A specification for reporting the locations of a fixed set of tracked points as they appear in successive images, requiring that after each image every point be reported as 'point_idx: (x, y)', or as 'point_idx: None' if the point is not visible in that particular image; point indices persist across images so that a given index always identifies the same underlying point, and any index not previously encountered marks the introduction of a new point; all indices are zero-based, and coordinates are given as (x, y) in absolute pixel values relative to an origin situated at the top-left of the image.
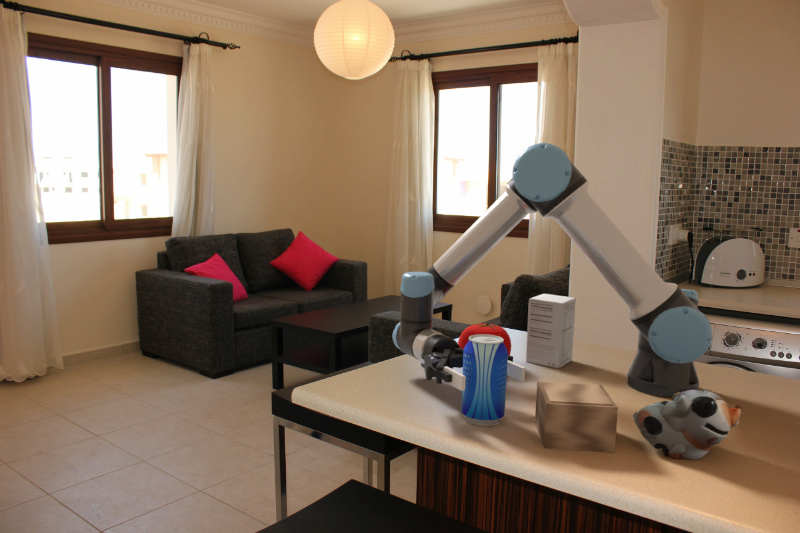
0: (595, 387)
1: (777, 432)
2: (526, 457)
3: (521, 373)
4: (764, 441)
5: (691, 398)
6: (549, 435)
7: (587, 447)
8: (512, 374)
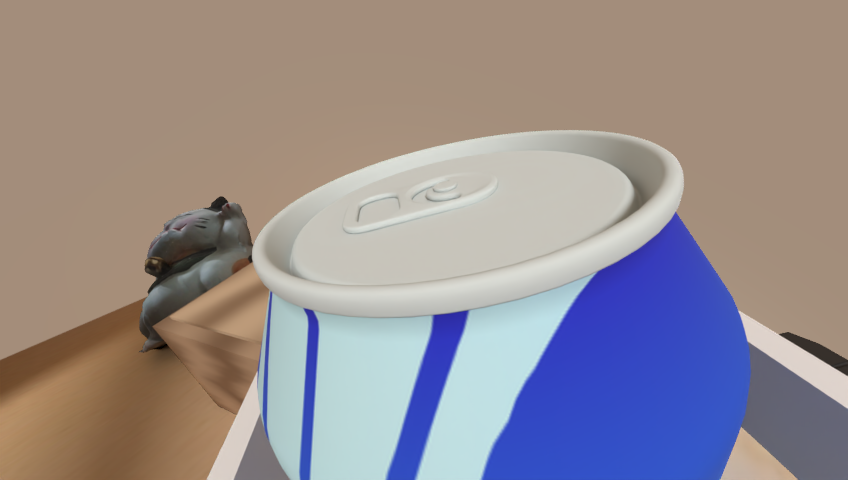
0: (202, 300)
1: (52, 344)
2: None
3: None
4: (114, 322)
5: (216, 212)
6: None
7: None
8: (283, 477)
